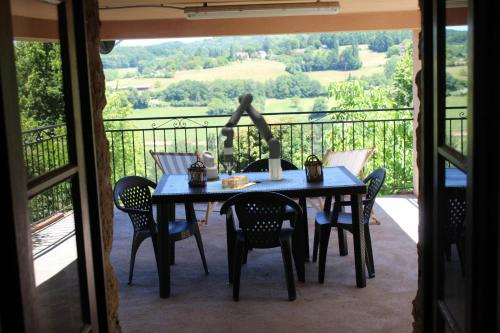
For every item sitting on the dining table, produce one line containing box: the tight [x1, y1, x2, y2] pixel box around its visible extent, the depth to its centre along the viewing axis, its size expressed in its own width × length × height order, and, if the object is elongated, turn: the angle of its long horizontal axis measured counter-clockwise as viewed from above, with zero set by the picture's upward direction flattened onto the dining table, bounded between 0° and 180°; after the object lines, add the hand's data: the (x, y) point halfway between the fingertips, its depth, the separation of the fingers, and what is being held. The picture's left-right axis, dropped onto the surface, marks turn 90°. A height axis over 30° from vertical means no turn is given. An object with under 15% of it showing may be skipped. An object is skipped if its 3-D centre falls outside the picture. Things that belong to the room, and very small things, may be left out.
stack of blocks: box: [221, 174, 249, 188], centre depth 531 cm, size 21×6×12 cm
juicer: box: [189, 150, 222, 183], centre depth 567 cm, size 30×16×24 cm, turn 48°
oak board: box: [223, 182, 257, 190], centre depth 530 cm, size 14×26×1 cm, turn 151°
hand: (230, 175), depth 533 cm, fingers closed
